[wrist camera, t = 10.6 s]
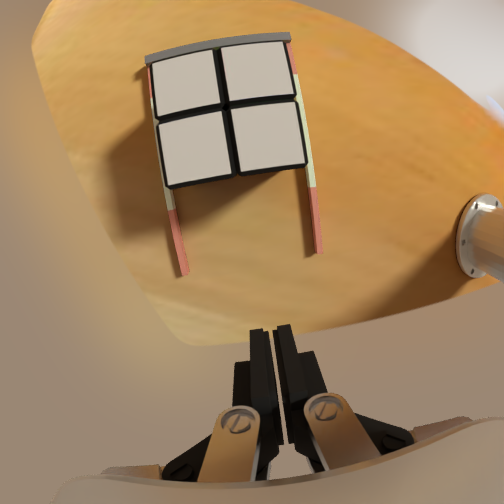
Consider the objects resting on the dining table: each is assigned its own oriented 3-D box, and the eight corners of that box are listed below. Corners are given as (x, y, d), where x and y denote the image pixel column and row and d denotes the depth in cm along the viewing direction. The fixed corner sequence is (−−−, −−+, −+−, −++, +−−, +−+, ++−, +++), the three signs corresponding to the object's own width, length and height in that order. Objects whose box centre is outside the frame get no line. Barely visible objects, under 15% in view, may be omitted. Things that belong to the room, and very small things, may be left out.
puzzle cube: (190, 184, 28) (164, 191, 18) (176, 94, 25) (146, 61, 15) (287, 168, 28) (310, 167, 18) (271, 78, 25) (285, 37, 15)
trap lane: (286, 39, 23) (289, 32, 21) (319, 250, 30) (325, 255, 28) (150, 62, 23) (144, 56, 21) (184, 271, 30) (180, 278, 28)
